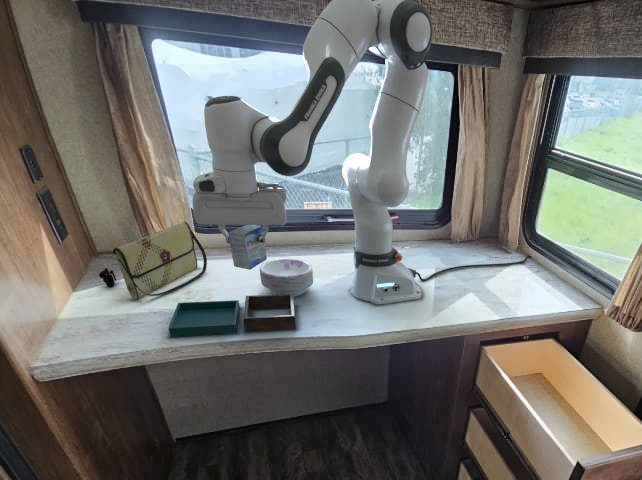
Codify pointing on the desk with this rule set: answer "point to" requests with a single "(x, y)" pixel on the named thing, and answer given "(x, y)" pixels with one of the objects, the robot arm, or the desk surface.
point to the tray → (205, 318)
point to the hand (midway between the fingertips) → (246, 242)
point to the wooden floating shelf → (269, 321)
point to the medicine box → (247, 246)
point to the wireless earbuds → (108, 277)
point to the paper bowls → (286, 276)
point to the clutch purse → (158, 260)
